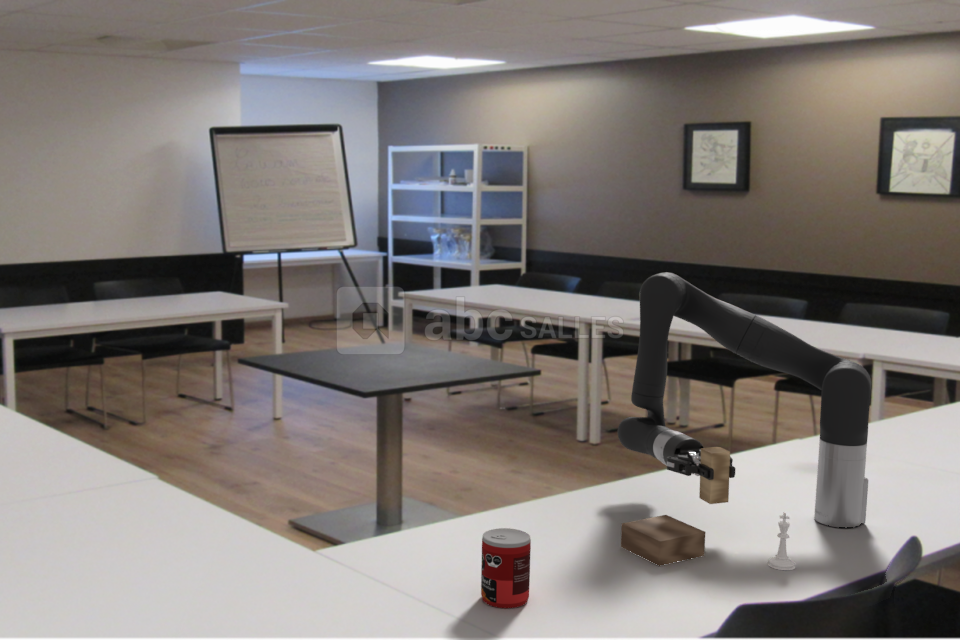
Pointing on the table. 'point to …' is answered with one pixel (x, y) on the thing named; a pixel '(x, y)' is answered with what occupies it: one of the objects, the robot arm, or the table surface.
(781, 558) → the chess piece
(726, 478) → the oak block
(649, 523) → the walnut block
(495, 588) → the canned food
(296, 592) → the table surface
